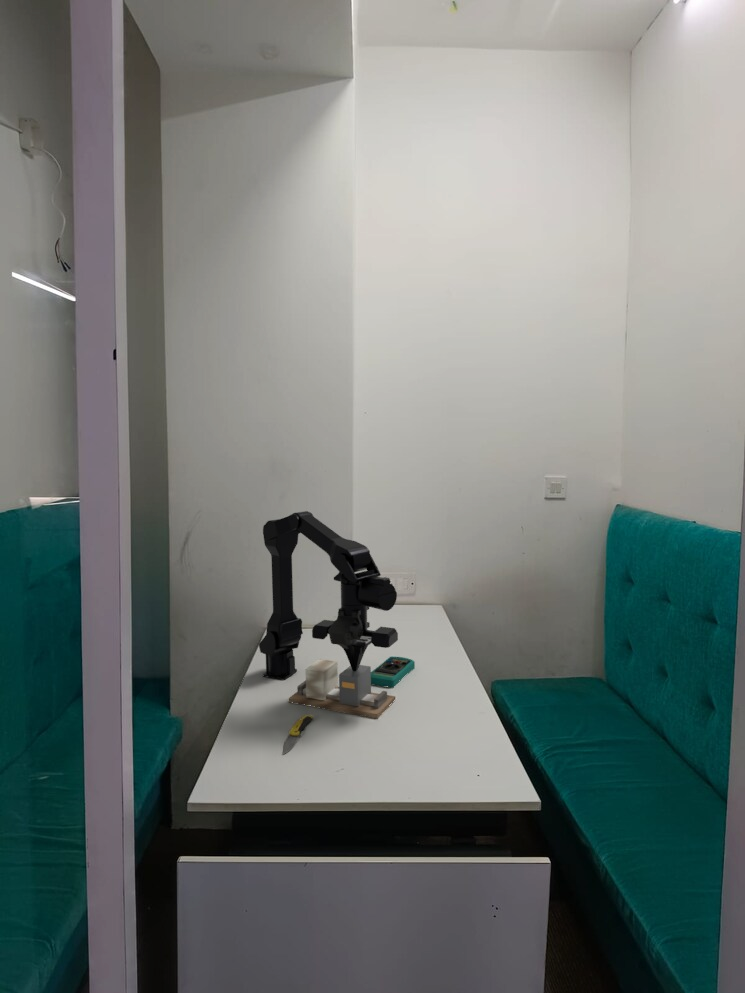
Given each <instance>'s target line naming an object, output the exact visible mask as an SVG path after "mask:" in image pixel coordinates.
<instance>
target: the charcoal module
mask: <svg viewBox="0 0 745 993" xmlns="http://www.w3.org/2000/svg"><path fill="white" fill-rule="evenodd" d="M371 670H372V668H371V666H370V665H363V664H360V665H359V668H358V670H357V671H353V670H352V668H351V665H349V666H348V667H346V669H344V670H343V671H342V672H340V673H338V687H339V697H340V703H341V704H346V705H352V706H359V705H360V701H361V700H362V699H363V698H364V697H365V696H366V695H367V694H371V692H372V684H371V672H372V671H371Z"/></svg>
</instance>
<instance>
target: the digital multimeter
mask: <svg viewBox="0 0 745 993" xmlns="http://www.w3.org/2000/svg"><path fill="white" fill-rule="evenodd" d="M415 664H416V663H415V661H414V660H413V659H410V658H407V657H401V656H389V657H388V658H386V659H385V660H384V661H383V662H382V663H381V664H380V665H378V667H377V666H376V668H375V669H373V670H372V671H371V685H372V684H374V685H373V686H377V685H380V686H379V687H383V686H388V687H387V688H391V687H393V688H395V687H396V686H397V685H398V684H399V683H400V681H402V680H403V679H404V678H405V677H406V676H407V675H408V674H409V673H411V672H412V671H413V670H414V669H415V667H416V665H415ZM411 670H412V671H411ZM410 671H411V672H410ZM407 673H408V674H407ZM406 674H407V675H406ZM405 675H406V676H405ZM404 676H405V677H404ZM403 677H404V678H403ZM402 678H403V679H402ZM401 679H402V680H401ZM399 680H400V681H399ZM397 683H398V684H397ZM396 684H397V685H396ZM395 685H396V686H395ZM394 686H395V687H394Z"/></svg>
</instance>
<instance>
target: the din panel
mask: <svg viewBox="0 0 745 993" xmlns="http://www.w3.org/2000/svg"><path fill="white" fill-rule="evenodd" d="M338 664H339V663H338V661H336V660H329V659H324V658H323V659H322V658H320V659H318V660H316V661H315V662H313V664H311V665H310V666H308V667H306V668H305V680H304V681H303V682H301V683H300V684H299V685H297V689H296V690H297V691H296V692H295V693H294V694H292V695H291V696H289V697H288V703H289V702H293V703H292V704H294V703H298V704H297V705H300V704H305V705H311V706H315V707H314V708H316V707H320V708H319V709H322V708H325V709H324V710H327V709H329V710H330V711H333V710H334V711H333V712H338V711H339V713H344V712H345V714H349V713H350V715H355V714H357V715H356V716H361V717H366V718H371V717H372V718H373V719H377V720H378V719H379V718H380V717H381V716H382V715H383V714H384V713H385V712H386V711H387V710H386V709H387V708H390V706H391V705H392V704H393V703H394V702H395V701H396V696H395V695H390V694H388V691H386V690H382V691H381V692H380V693H377V692H373V691H371V694H367V695H366V696H365V697H364V698H363V699H362V700H361V701H360V705H359V706H352V705H346V704H341V703H340V697H339V672H338V670H339V669H338ZM394 700H395V701H394ZM393 701H394V702H393ZM392 702H393V703H392ZM391 703H392V704H391ZM390 704H391V705H390ZM305 705H304V706H305ZM389 705H390V706H389ZM311 706H310V707H311ZM329 710H328V711H329ZM385 710H386V711H385ZM384 711H385V712H384ZM383 712H384V713H383ZM382 713H383V714H382ZM372 718H371V719H372Z"/></svg>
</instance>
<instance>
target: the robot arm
mask: <svg viewBox="0 0 745 993" xmlns="http://www.w3.org/2000/svg"><path fill="white" fill-rule="evenodd" d="M262 534H263V541H264V542H263V543H264V546H265V548H266V549H267V551H268V552H269V554H270V556H271V558H270V559H271V582H272V586H271V587H272V588H271V589H272V590H271V591H272V613H271V615H270V616H269V619H268V622H267V624H266V632H265V635H264V637H263V638H262V639H261V640H260V642H259V644H258V647H259V651H260V653H261V654H264V655H265V670H266V672H263V673H262V676H263V675H264V676H263V677H265V676H268V677H267V678H271V677H273V679H277V678H278V680H283V679H284V680H286V679H288V678H289V677H291V676H293V674H295V673H296V672H298V670H297V668H296V657H295V656H294V650H295V649H298V648H299V644H300V641H301V639H302V635H303V634H304V633H303V620H302V618H298V616H297V615H296V613H295V612H294V611H295V610H294V594H293V593H294V591H293V590H294V588H293V587H294V586H293V583H294V582H293V557H292V556H293V553H294V551H295V549H296V548H297V545H298V543H299V534H302V535H303V536H304V537H305V538H307V539H308V541H309V540H310V542H312V543H313V544H315V546H317V547H319V548H320V549H321V550H322V551H324V552H325V553H326V554H327V555H328V556H329V560H330V563H331V564H332V566H334V568H335V569H337V571H338V573H337V574H336V575H335V576H333V581H336V582H340V607H339V608H338V611H337V618H336V619H335V620H329V619H323V620H321V621H319V622H318V623H316V624H314V626H313V627H312V630H311V637H312V639H318V640H325V639H326V638H327V637H329V640H330V643H331V644H332V645H337V646H340V647H341V648H342V649H343V651H344V653H345V654H346V657H347V659H348V663H349V666H351V668H352V670H353V671H357V670H358V668H359V665H361V662H362V660H363V658H364V654H365V652H366V650H367V648H368V646H369V645H371V644H372V645H373V646H374V647H378V648H384V649H388V648H390V647H392V645H394V644H395V643H396V642H398V640H399V634H398V633H399V632H398V631H397V629H396V628H394V627H386V626H380V627H378V628H376V630H372V629H371V630H368V629H369V628H370V625H371V624H370V622H369V621H368V610H370V608H373V609H377V610H380V611H383V612H387V611H390V610H391V609H393V607H394V606H395V605H396V602H397V597H398V593H397V591H396V588H395V586H394V585H393V584H392V583H391V579H390V577H381V572H380V570H379V568H378V565H376V563H375V561H374V559H373V557H372V555H371V553H370V549H369V548H368V546H366V545H364V544H362V543H360V542H358V541H355V540H351V539H348V538H347V539H346V538H344V537H342V536H340V535H339V534H338V533H337V532H336V531H334V530H333V529H331V528H330V527H328V526H327V525H326V524H325V523H323V522H322V521H321V520H319V519H318V518H316V517H315V516H314V515H313V513H312V512H310V511H307V510H304V511H299V512H293V513H292V514H290V515H288V516H286V517H282V518H279V519H277V518H276V519H271V520H267V521H266V523H265V524H263V526H262ZM328 635H329V636H328Z"/></svg>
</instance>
